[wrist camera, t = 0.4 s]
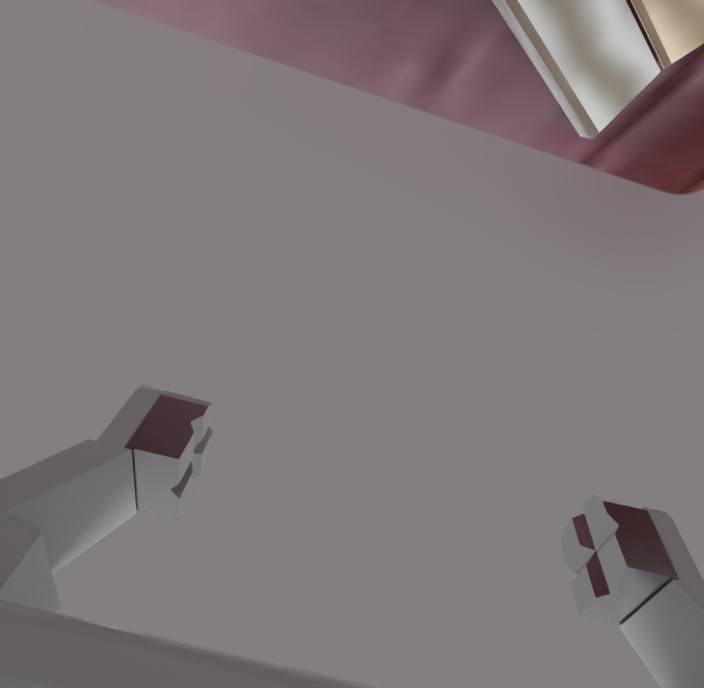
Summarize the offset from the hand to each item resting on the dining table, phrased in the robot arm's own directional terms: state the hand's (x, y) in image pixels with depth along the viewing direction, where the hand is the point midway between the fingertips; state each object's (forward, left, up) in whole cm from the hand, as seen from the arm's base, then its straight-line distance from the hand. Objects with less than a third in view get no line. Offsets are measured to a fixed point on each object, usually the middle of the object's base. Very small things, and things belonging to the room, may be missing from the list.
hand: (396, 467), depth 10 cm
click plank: (-3, +11, -47) cm, 49 cm away
